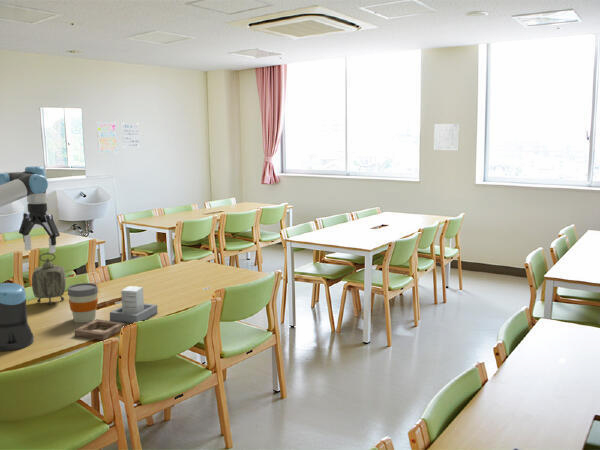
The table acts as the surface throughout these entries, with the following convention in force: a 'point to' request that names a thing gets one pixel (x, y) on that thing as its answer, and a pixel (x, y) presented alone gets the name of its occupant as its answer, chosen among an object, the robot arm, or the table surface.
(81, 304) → the reusable coffee cup
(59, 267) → the tabletop clock
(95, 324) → the walnut collar
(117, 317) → the grey tray
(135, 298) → the supplement box
